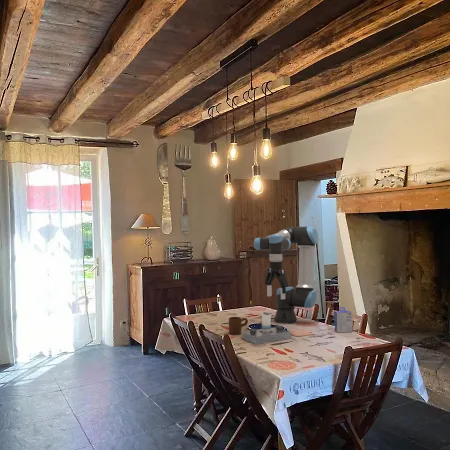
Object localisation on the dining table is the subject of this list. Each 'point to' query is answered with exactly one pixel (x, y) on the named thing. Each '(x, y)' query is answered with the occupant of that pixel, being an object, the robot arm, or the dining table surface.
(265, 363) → the dining table surface
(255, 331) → the plunger near
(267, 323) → the cylinder
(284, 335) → the housing
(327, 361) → the dining table surface
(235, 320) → the mug
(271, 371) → the dining table surface
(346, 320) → the ink cartridge box
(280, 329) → the plunger far
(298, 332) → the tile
